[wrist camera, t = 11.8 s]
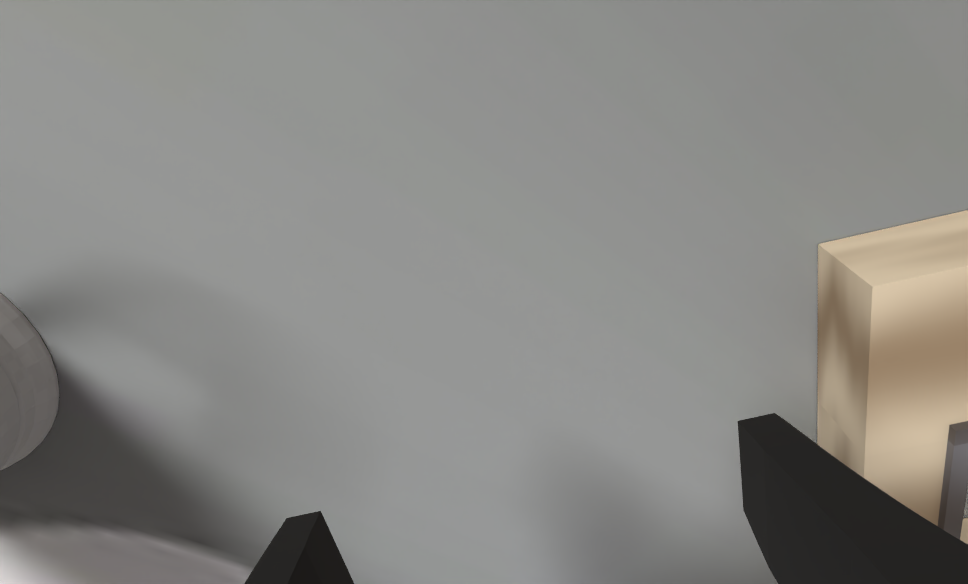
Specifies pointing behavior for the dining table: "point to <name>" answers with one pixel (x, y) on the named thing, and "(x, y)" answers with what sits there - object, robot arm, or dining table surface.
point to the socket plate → (898, 362)
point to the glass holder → (24, 386)
